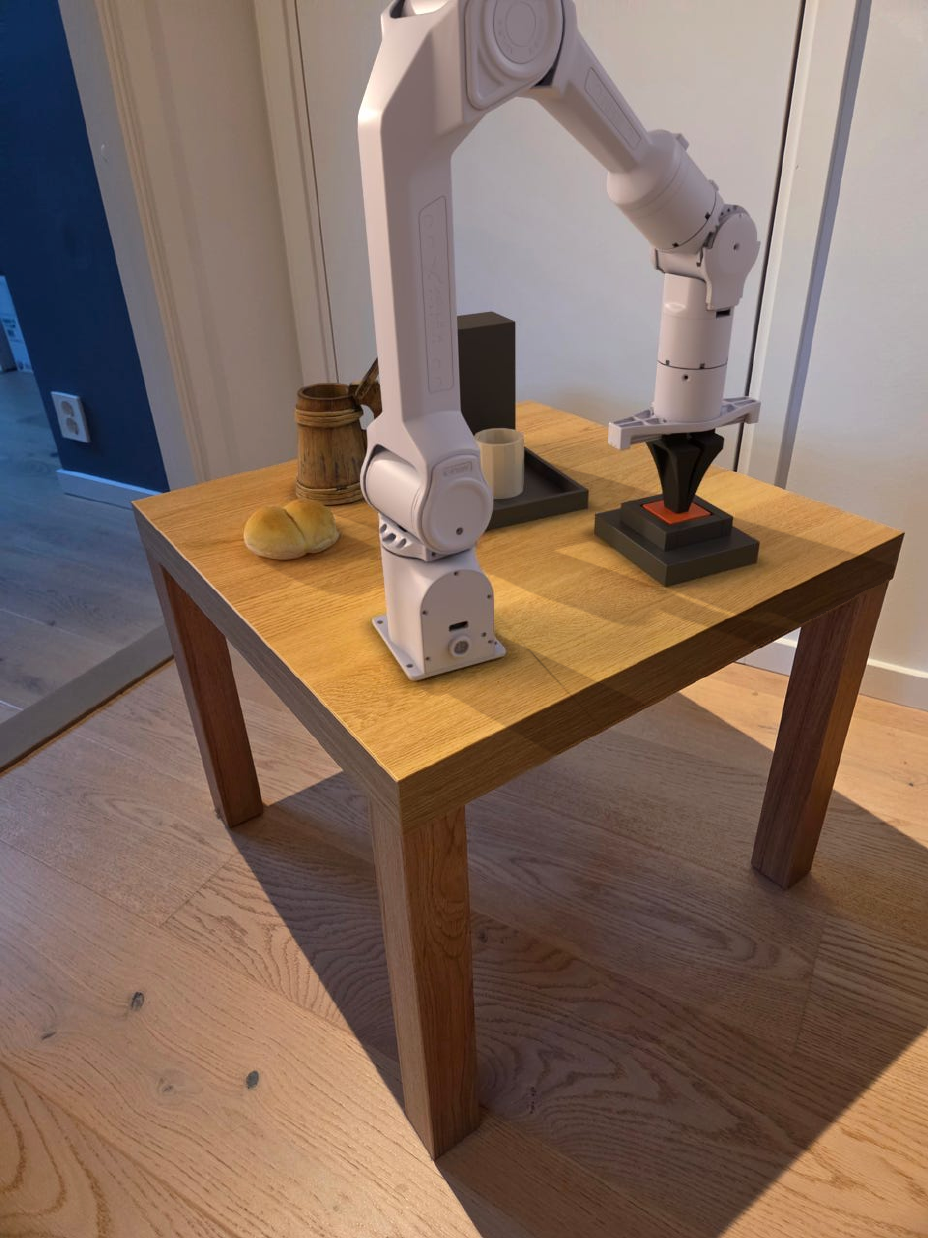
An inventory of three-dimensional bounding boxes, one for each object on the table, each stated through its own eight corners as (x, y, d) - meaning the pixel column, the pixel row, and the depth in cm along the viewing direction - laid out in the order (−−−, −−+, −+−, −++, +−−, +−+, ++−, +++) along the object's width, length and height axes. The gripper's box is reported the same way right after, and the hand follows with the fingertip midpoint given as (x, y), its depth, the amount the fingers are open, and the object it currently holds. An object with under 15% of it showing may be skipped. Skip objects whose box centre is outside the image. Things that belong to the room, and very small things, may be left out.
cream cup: (532, 493, 91) (532, 439, 88) (487, 503, 89) (486, 448, 86) (510, 476, 95) (510, 424, 92) (467, 485, 93) (465, 433, 90)
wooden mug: (407, 508, 90) (395, 334, 81) (285, 504, 92) (259, 334, 83) (422, 476, 98) (413, 313, 88) (309, 473, 100) (287, 313, 90)
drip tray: (588, 508, 89) (588, 489, 88) (472, 534, 84) (472, 515, 83) (521, 461, 101) (522, 444, 100) (417, 481, 96) (416, 464, 95)
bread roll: (238, 537, 86) (231, 500, 84) (324, 518, 89) (319, 482, 87) (257, 571, 79) (249, 532, 77) (348, 550, 82) (344, 512, 80)
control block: (756, 563, 78) (763, 523, 75) (664, 588, 74) (669, 547, 72) (678, 513, 87) (682, 477, 85) (593, 534, 84) (595, 496, 82)
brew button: (708, 530, 78) (710, 512, 77) (668, 540, 77) (670, 522, 76) (679, 512, 82) (681, 495, 81) (641, 521, 80) (642, 504, 79)
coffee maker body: (515, 460, 101) (515, 321, 92) (421, 479, 97) (412, 335, 89) (494, 445, 106) (492, 311, 97) (403, 462, 102) (393, 324, 93)
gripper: (731, 338, 77) (713, 479, 84) (592, 361, 72) (585, 508, 79) (786, 356, 71) (761, 505, 78) (639, 382, 67) (627, 538, 74)
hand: (676, 508), depth 78 cm, fingers closed, pressing on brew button
